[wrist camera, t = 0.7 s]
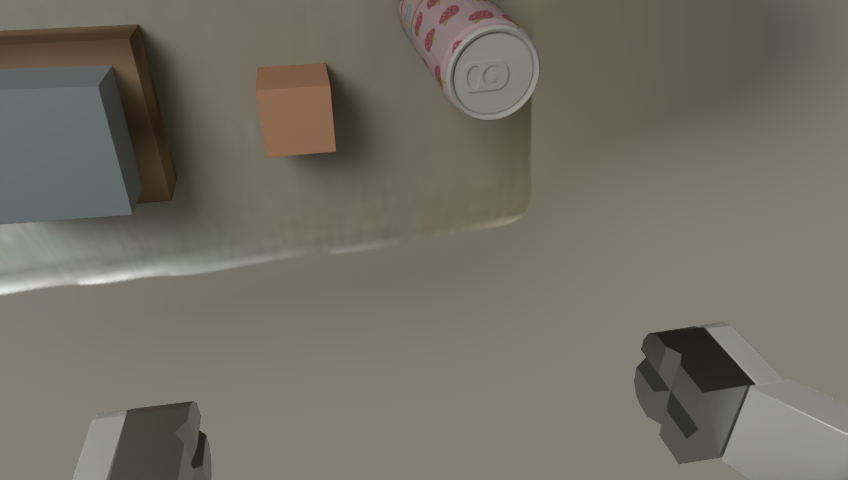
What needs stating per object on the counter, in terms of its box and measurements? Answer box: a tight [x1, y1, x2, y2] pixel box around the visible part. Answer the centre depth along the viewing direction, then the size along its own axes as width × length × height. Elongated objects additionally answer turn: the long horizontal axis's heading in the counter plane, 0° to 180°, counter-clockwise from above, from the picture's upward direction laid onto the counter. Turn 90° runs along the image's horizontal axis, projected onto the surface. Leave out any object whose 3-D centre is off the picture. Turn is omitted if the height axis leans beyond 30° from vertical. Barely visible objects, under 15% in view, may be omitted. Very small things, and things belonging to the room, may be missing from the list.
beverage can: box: [399, 0, 540, 121], centre depth 40 cm, size 6×6×15 cm
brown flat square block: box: [0, 24, 177, 203], centre depth 43 cm, size 12×12×4 cm
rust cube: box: [256, 63, 336, 158], centre depth 45 cm, size 5×5×5 cm
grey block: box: [0, 65, 142, 224], centre depth 40 cm, size 9×9×4 cm
